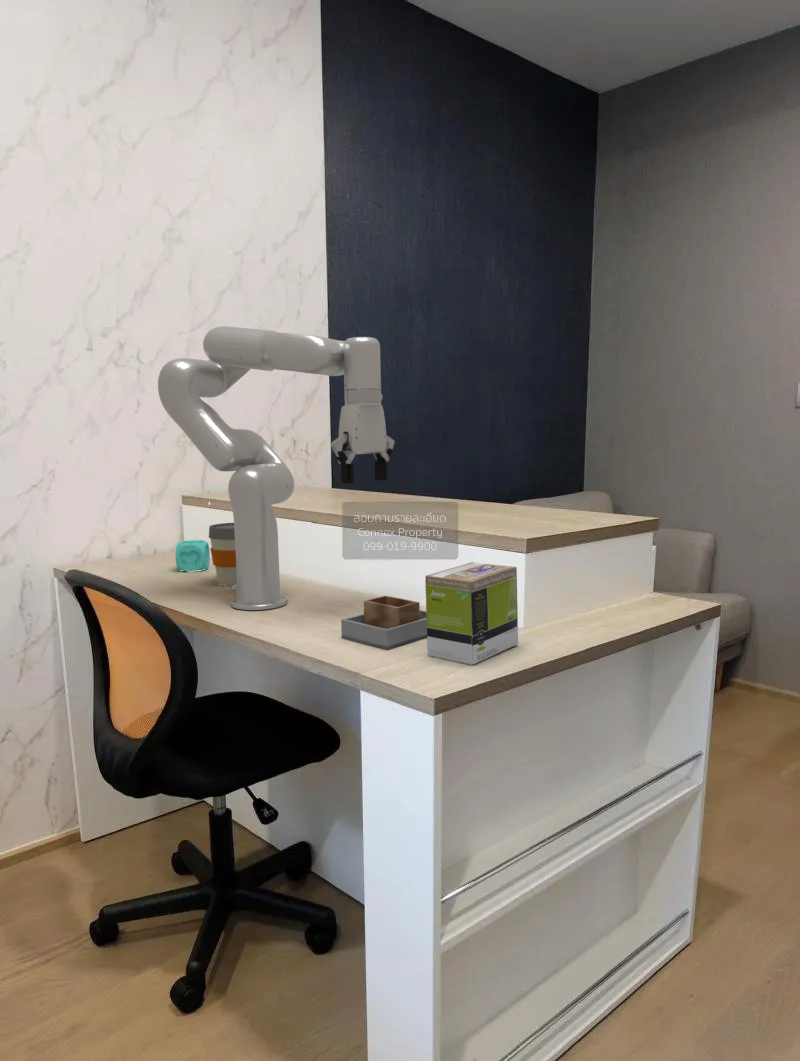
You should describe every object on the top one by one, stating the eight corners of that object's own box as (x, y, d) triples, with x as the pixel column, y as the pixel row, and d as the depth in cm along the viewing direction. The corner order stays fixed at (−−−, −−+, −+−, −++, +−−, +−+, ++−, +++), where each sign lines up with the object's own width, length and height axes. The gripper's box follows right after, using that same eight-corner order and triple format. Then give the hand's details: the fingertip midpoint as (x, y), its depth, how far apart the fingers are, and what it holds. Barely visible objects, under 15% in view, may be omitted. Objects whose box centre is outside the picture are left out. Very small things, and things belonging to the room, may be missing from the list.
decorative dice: (182, 567, 223) (181, 540, 222) (210, 566, 223) (209, 539, 222) (176, 572, 215) (174, 544, 214) (205, 572, 215) (203, 543, 214)
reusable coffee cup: (266, 577, 205) (263, 522, 203) (252, 587, 193) (249, 528, 191) (220, 577, 207) (217, 522, 205) (204, 587, 194) (200, 528, 192)
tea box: (473, 637, 146) (473, 560, 144) (519, 646, 139) (519, 565, 137) (425, 656, 134) (424, 573, 132) (472, 667, 128) (472, 579, 126)
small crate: (364, 631, 149) (363, 600, 148) (386, 625, 153) (385, 595, 152) (398, 639, 142) (397, 608, 142) (419, 632, 147) (419, 602, 146)
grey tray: (341, 637, 146) (341, 619, 146) (396, 622, 157) (396, 605, 157) (387, 650, 138) (387, 630, 138) (442, 632, 149) (442, 614, 148)
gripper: (379, 400, 168) (381, 478, 170) (319, 399, 155) (321, 483, 157) (404, 398, 162) (405, 479, 165) (344, 397, 150) (346, 485, 152)
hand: (364, 481), depth 161 cm, fingers open, 9 cm apart
